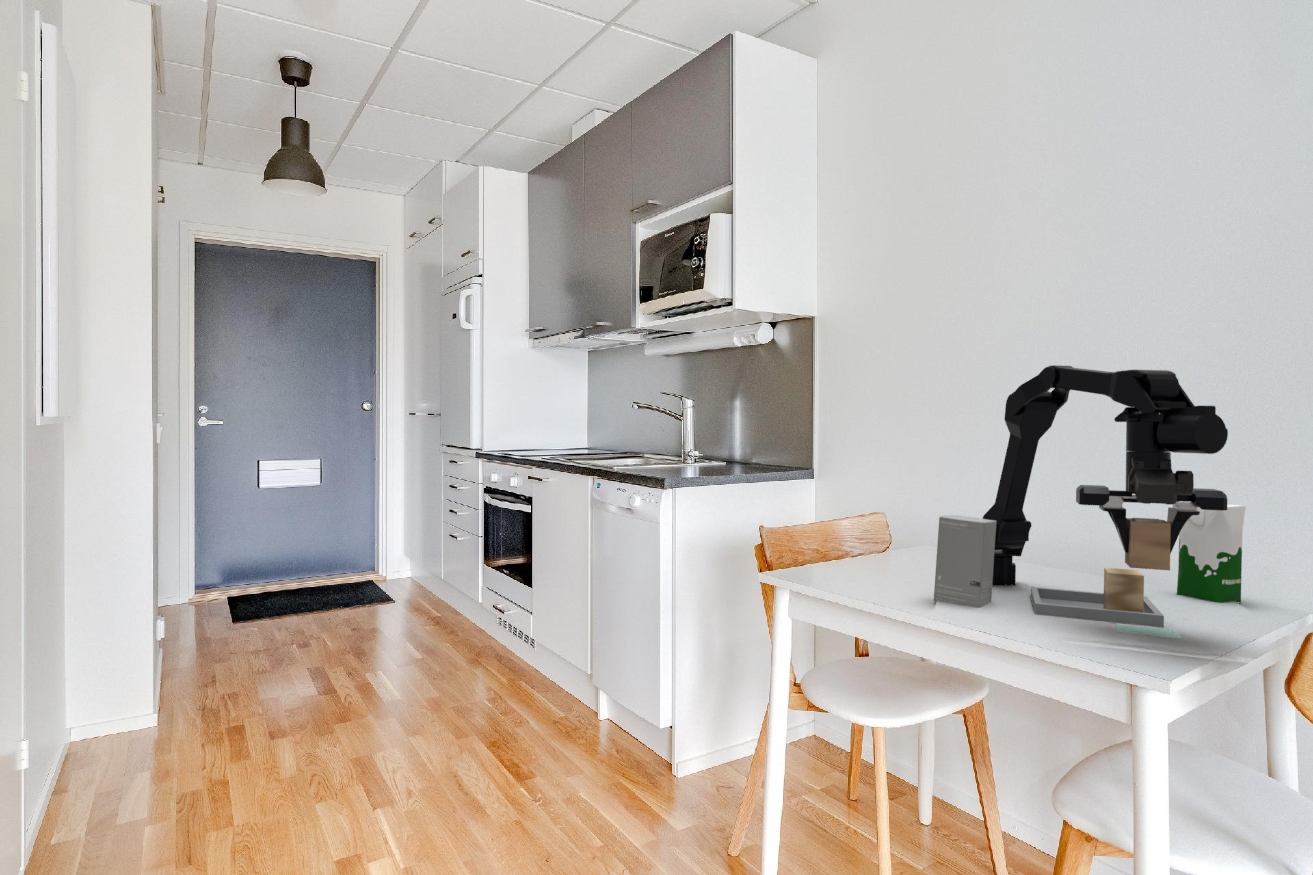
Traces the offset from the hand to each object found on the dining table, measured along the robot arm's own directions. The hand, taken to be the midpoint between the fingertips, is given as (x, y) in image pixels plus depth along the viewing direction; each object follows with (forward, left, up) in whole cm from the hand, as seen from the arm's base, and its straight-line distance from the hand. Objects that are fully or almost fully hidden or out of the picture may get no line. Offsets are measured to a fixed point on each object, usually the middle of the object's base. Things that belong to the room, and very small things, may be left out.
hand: (1146, 553), depth 113 cm
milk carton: (+15, +32, -13) cm, 38 cm away
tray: (-6, +11, -13) cm, 18 cm away
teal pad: (0, 0, -13) cm, 13 cm away
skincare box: (-26, +9, -13) cm, 30 cm away
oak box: (-1, +11, -12) cm, 16 cm away
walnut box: (0, 0, -2) cm, 2 cm away
